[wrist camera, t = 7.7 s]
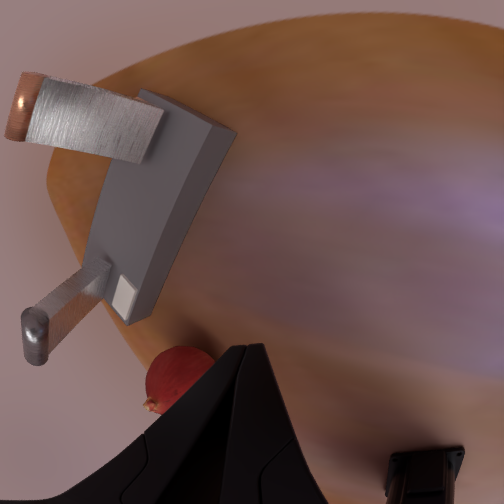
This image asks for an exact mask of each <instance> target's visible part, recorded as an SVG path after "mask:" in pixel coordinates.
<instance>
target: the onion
mask: <svg viewBox="0 0 504 504" xmlns="http://www.w3.org/2000/svg"><path fill="white" fill-rule="evenodd" d="M214 363H215V361H214V359H213V358H211V357H210V356H209V355H208V354H207V353H205V352H204V351H202V350H200V349H198V348H196V347H188V346H175V347H173V348H170V349H168V350H166V351H164V352H162V353H160V354H159V355H158V356H157V357H156V358H155V359H154V361H153V362H152V364H151V366H150V368H149V370H148V372H147V375H146V383H145V385H146V394H147V398H148V399H147V400H146V402H145V403H144V404H143V406H144V407H145V408H146V410H148V411H152V412H155V413H158V414H161V415H162V414H163V413H164V412H166V411H167V410H168V409H169V408H170V407H171V406H172V405H173V404H174V403H175V402H176V401H177V400H178V399H179V398H180V397H181V396H182V395H183V394H184V393H185V392H186V391H187V390H188V389H189V388H190V387H191V386H192V385H193V384H194V383H195V382H196V381H197V380H198V379H199V378H200V377H201V376H202V375H203V374H204V373H205V372H206V371H207V370H208V369H209V368H210V367H211V366H212V365H213V364H214Z"/></svg>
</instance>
